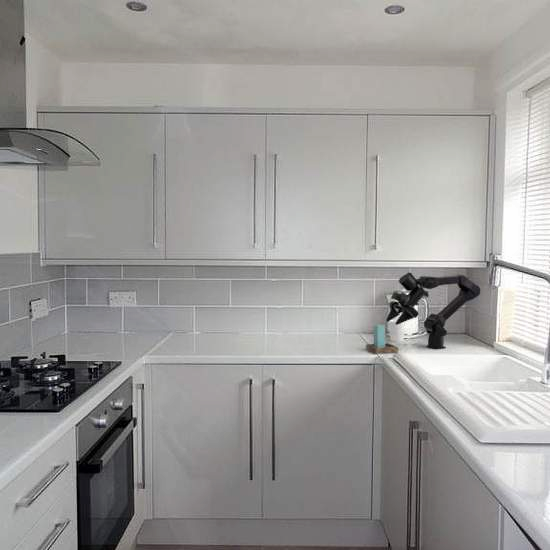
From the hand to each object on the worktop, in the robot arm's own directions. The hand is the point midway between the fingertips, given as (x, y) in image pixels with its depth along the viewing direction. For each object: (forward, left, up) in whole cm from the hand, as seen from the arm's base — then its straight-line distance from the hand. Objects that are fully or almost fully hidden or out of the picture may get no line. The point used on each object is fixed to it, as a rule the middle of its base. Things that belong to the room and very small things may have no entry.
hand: (391, 322), depth 238 cm
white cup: (-17, -19, -13) cm, 29 cm away
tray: (+5, -1, -13) cm, 14 cm away
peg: (+6, -1, -13) cm, 14 cm away
